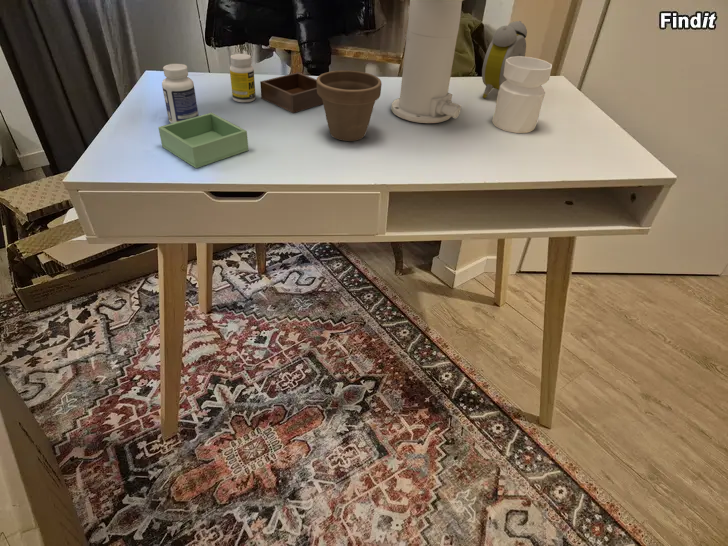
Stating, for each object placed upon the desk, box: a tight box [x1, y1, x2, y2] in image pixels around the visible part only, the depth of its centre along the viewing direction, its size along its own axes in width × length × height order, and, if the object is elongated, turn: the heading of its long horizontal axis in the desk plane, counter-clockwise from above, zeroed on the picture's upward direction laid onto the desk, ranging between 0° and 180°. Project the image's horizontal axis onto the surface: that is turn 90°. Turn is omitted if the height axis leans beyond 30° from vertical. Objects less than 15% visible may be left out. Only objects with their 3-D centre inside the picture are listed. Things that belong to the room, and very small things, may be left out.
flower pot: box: [316, 69, 382, 142], centre depth 90 cm, size 12×11×10 cm
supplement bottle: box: [229, 53, 256, 103], centre depth 101 cm, size 5×5×8 cm
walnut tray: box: [259, 71, 323, 114], centre depth 104 cm, size 10×10×4 cm
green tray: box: [158, 112, 249, 169], centre depth 84 cm, size 10×10×4 cm
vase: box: [491, 56, 553, 134], centre depth 98 cm, size 9×9×12 cm
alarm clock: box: [481, 20, 528, 99], centre depth 110 cm, size 12×7×15 cm, turn 144°
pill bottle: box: [161, 63, 200, 124], centre depth 90 cm, size 5×5×10 cm
